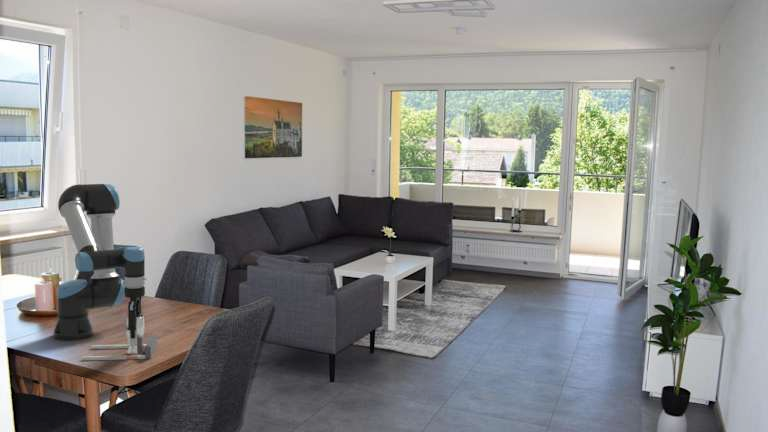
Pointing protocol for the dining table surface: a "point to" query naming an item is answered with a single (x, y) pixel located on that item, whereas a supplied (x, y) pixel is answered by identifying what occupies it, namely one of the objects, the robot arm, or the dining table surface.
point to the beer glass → (140, 332)
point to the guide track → (148, 347)
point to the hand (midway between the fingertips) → (135, 342)
